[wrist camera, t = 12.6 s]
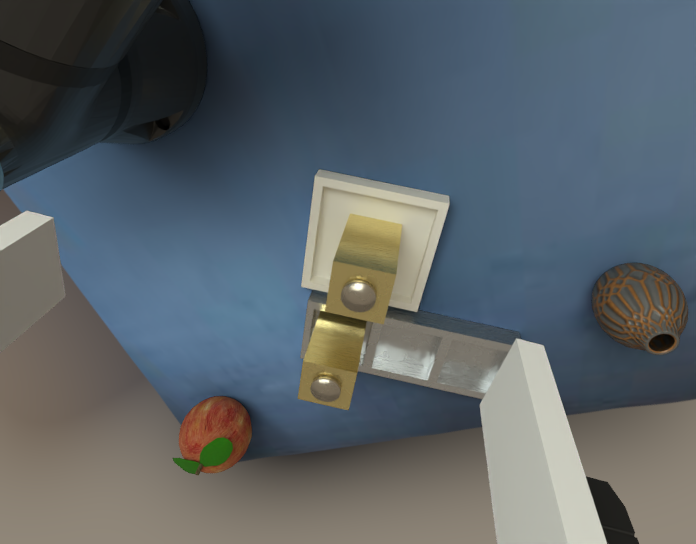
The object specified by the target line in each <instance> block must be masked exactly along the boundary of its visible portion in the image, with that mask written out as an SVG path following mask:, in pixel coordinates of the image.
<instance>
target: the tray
mask: <svg viewBox="0 0 696 544" xmlns="http://www.w3.org/2000/svg"><path fill="white" fill-rule="evenodd" d="M449 204H450V202H449V196H447V195H442V194H437V193H432V192H428V191H423V190H418V189H413V188H408V187H403V186H399V185H394V184H389V183H384V182H379V181H374V180H369V179H365V178H360V177H355V176H350V175H345V174H340V173H336V172H331V171H326V170H321V169H319V170H318V172H317V173H316V175H315V180H314V188H313V196H312V204H311V212H310V220H309V228H308V236H307V244H306V252H305V260H304V268H303V276H302V284H301V287H304V288H309V289H314V290H318V291H323V292H327V293H328V289H329V283H330V277H331V271H332V265H333V260H334V257H335V254H336V251H337V249H338V246H339V243H340V240H341V237H342V234H343V232H344V229H345V226H346V223H347V220H348V217H349V215H350V213H351V214H356V215H360V216H365V217H370V218H375V219H379V220H384V221H389V222H394V223H398V224H402V231H401V239H400V248H399V256H398V265H397V274H396V278H395V282H394V286H393V290H392V294H391V298H390V301H389V305H388V306H391V307H396V308H401V309H405V310H410V311H414V312H417V311H418V307H419V304H420V301H421V298H422V294H423V291H424V288H425V284H426V281H427V278H428V274H429V271H430V268H431V264H432V261H433V258H434V254H435V251H436V248H437V244H438V241H439V238H440V234H441V231H442V228H443V224H444V221H445V218H446V214H447V211H448V208H449Z"/></svg>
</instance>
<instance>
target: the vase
mask: <svg viewBox="0 0 696 544" xmlns="http://www.w3.org/2000/svg"><path fill="white" fill-rule="evenodd" d="M592 309H593V312H594V315H595V318H596V320H597V322H598V323H599V325H600V327H601V328H602V329H603V330H604V331H605V332H606V333H607V334H608V335H609V336H610V337H611V338H612V339H614V340H615V341H617V342H618V343H620V344H622V345H624V346H627V347H630V348H634V349H640V350H646V351H647V352H649V353H651V354H655V355H663V354H667V353H670V352H672V351H673V350H675V349H676V348H677V346H678V344H679V340H680V335H681V333H682V332H683V330H684V328H685V326H686V323H687V320H688V306H687V301H686V298H685V295H684V293H683V291H682V290H681V288H680V287H679V285H678V284H677V283H676V282H675V281H674V280H673V279H672V278H671V277H670V276H669V275H668V274H666V273H665V272H663V271H662V270H660V269H658V268H656V267H653V266H651V265H647V264H643V263H627V264H621V265H618V266H615V267H613V268H611V269H610V270H608V271H607V272H605V273H604V274H603V275H602V276H601V277H600V278H599V279H598V281H597V282H596V284H595V286H594V289H593V292H592Z"/></svg>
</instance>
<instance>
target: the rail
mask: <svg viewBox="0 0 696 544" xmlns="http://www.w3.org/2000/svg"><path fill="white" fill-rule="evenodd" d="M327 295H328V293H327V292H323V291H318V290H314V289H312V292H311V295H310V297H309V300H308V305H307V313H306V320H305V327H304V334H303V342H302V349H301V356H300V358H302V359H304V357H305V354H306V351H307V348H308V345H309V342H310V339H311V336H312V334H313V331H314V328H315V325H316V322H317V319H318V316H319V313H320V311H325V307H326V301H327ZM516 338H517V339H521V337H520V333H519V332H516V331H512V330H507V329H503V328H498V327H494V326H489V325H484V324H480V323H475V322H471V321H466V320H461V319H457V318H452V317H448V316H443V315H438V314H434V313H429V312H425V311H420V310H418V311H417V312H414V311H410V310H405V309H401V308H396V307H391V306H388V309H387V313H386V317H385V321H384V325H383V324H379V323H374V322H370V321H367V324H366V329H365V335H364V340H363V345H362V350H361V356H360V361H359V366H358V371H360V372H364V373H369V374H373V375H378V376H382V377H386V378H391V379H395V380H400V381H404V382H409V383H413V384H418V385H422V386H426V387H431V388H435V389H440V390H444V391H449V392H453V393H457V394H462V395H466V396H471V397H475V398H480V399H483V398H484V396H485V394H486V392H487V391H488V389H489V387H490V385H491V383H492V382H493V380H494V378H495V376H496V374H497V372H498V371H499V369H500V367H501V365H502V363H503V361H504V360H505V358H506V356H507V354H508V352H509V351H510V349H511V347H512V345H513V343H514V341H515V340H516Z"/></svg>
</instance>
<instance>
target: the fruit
mask: <svg viewBox="0 0 696 544" xmlns="http://www.w3.org/2000/svg"><path fill="white" fill-rule="evenodd" d="M251 437H252V427H251V420H250V416H249V414H248V412H247V410H246V409H245V408H244V407H243V406H242V404H241V403H239V402H238V401H236V400H235V399H232V398H229V397H226V396H214V397H210V398H208V399H206V400H203V401H201V402H200V403H199V404H197V405H196V406H194V407H193V408H192V409H191V411H190V412H189V413H188V414H187V415H186V417H185V419H184V421H183V423H182V425H181V428H180V433H179V446H180V450H181V453H182V456H183V457H184V459H181V458H173V461H174V462H175V463H176V464H177V465H178V466H180V467H181V468H182V469H183V470H185V471H187V472H188V473H192V474H196V475H199V473H200V471H201V472H204V473H218V472H222V471H224V470H226V469H228V468H230V467H232V466H233V465H234V464H236V463H237V462H238V461H239V460H240V459H241V458H242V456H243V455H244V454H245V452H246V450H247V448H248V445H249V443H250V440H251Z"/></svg>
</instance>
